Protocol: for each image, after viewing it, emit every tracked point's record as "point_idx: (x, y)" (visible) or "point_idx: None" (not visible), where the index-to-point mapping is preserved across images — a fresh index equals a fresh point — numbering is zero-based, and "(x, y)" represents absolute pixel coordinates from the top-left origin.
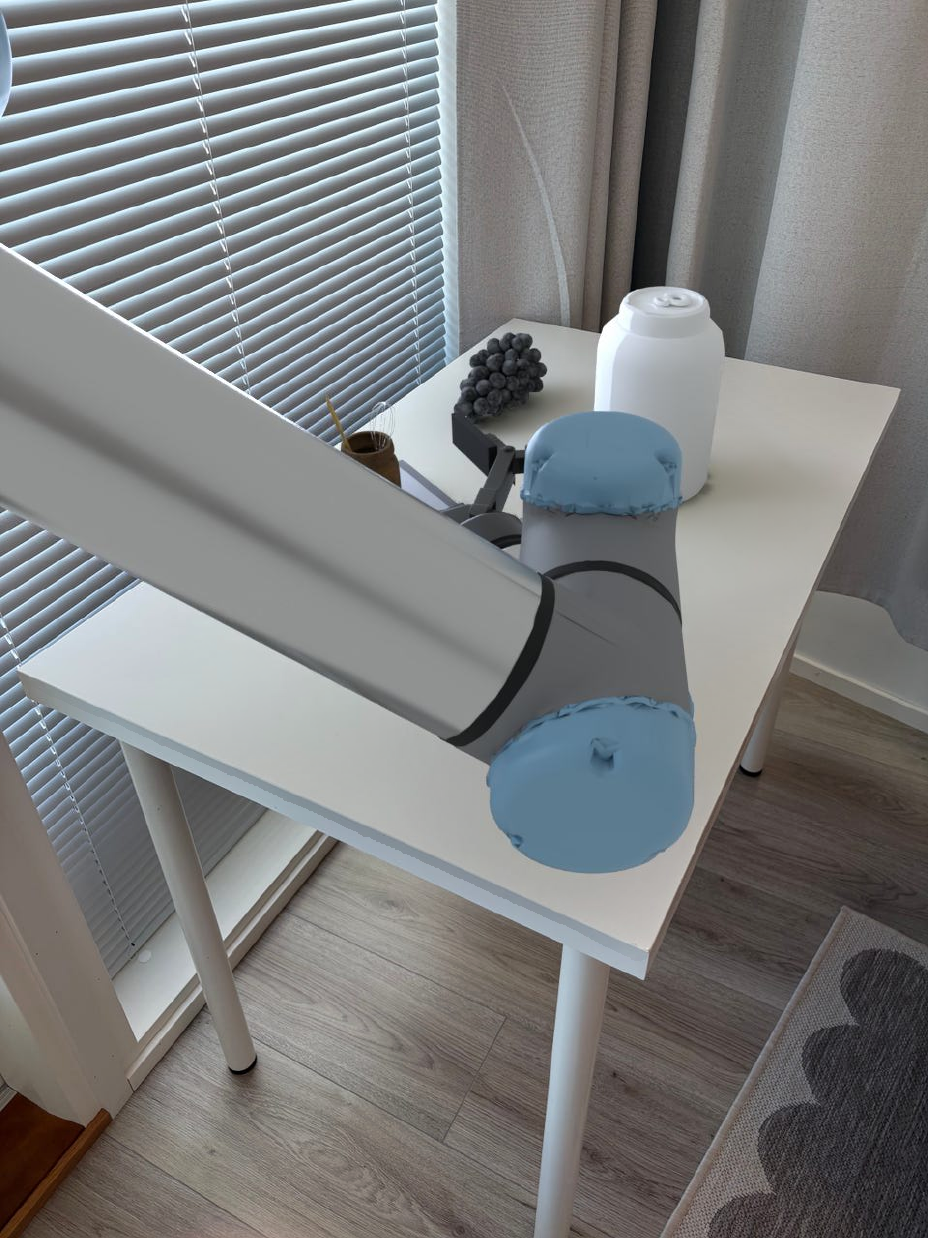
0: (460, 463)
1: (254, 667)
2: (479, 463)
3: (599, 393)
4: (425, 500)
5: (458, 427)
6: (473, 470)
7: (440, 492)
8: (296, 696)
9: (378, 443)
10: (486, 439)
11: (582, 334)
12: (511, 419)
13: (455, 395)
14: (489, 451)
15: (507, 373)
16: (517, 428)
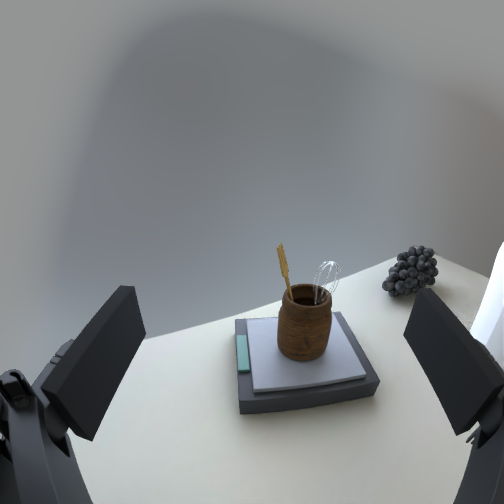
0: (379, 322)
1: (124, 450)
2: (448, 398)
3: (495, 295)
4: (345, 355)
5: (426, 316)
6: (386, 330)
7: (359, 348)
8: (130, 498)
9: (320, 297)
10: (486, 361)
11: (446, 260)
12: (414, 298)
13: (382, 276)
14: (491, 395)
15: (419, 269)
16: None
